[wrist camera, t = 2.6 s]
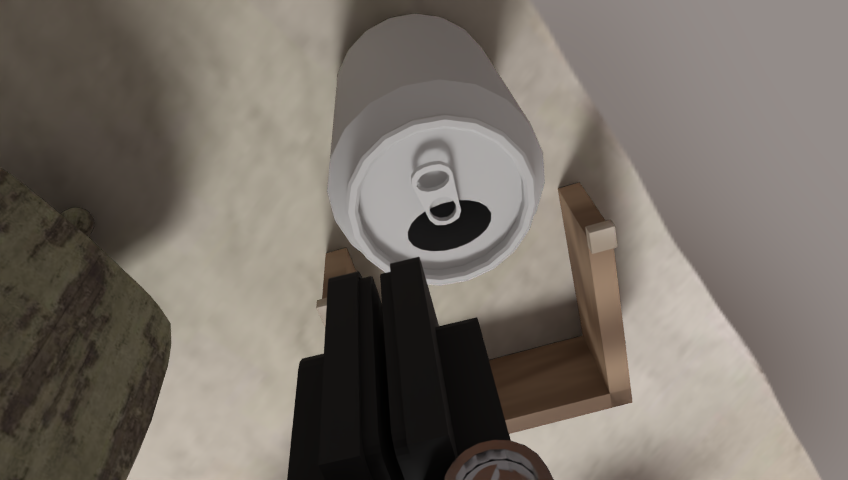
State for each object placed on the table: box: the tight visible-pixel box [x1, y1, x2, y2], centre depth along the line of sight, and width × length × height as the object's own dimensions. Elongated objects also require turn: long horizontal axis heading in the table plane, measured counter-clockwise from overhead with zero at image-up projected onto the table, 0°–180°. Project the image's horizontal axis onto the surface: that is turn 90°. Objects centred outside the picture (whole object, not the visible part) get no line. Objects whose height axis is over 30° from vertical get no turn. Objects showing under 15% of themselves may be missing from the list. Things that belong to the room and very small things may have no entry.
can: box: [327, 13, 545, 286], centre depth 25 cm, size 8×8×12 cm
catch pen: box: [316, 182, 632, 434], centre depth 35 cm, size 13×14×6 cm
